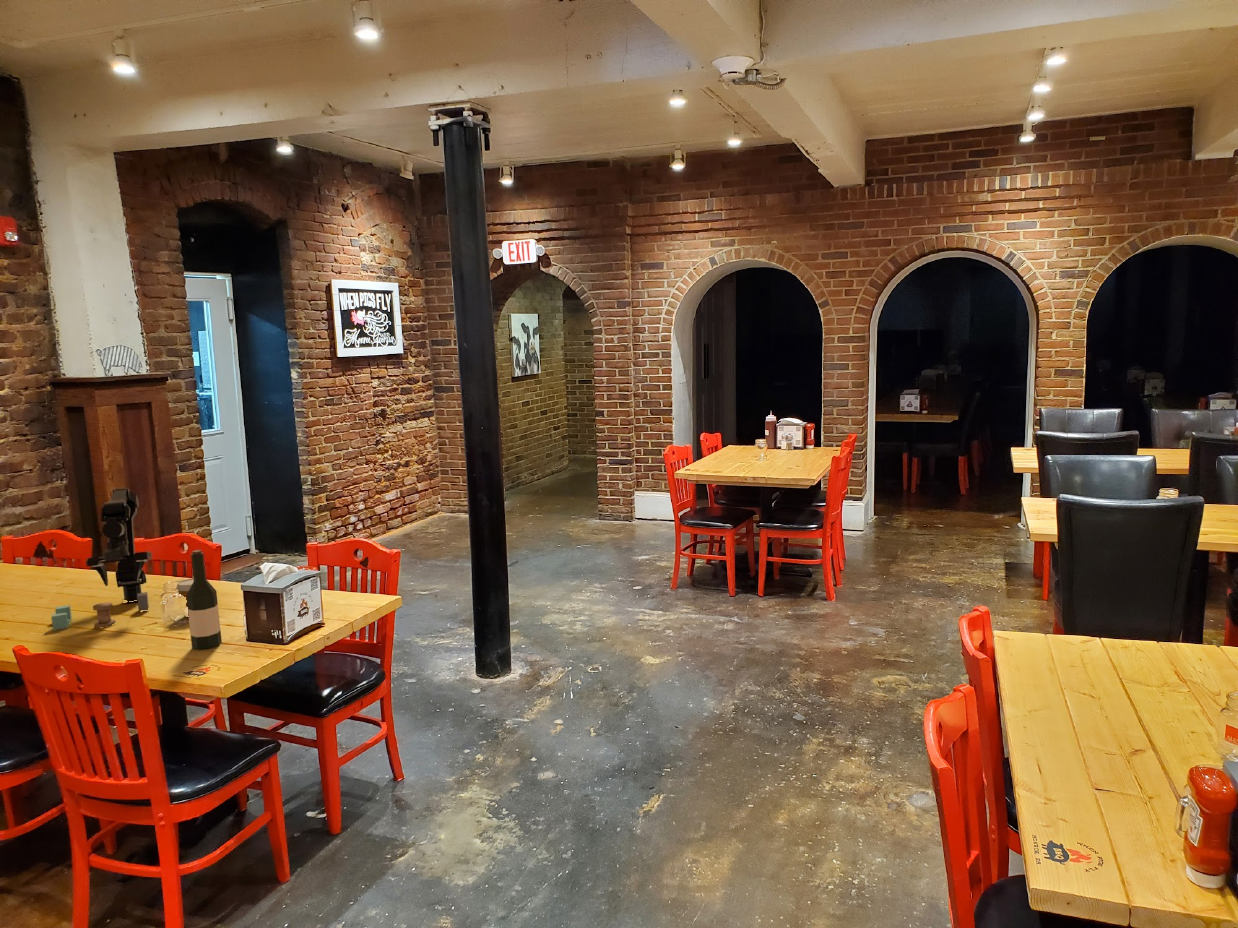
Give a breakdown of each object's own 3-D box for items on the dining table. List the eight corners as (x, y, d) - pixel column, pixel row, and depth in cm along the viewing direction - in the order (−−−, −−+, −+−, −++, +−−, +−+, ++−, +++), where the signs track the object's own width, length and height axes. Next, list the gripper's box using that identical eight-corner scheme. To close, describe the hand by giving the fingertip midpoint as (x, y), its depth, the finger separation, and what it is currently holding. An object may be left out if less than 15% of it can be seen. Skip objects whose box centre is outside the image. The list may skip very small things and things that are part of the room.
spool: (95, 624, 281) (93, 604, 280) (116, 620, 284) (113, 601, 283) (93, 629, 276) (91, 608, 275) (114, 625, 278) (112, 605, 277)
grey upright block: (139, 609, 295) (137, 593, 295) (149, 608, 297) (147, 592, 296) (138, 612, 292) (136, 596, 291) (148, 611, 293) (146, 594, 292)
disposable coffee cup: (215, 613, 289) (212, 579, 287) (188, 621, 281) (185, 586, 279) (200, 609, 294) (197, 576, 292) (174, 616, 286) (170, 583, 284)
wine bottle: (209, 650, 252) (199, 554, 248) (185, 649, 254) (175, 554, 250) (227, 641, 260) (218, 547, 256) (204, 639, 262) (194, 547, 258)
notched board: (58, 620, 286) (56, 606, 285) (71, 618, 288) (70, 604, 287) (53, 630, 276) (51, 616, 275) (67, 628, 277) (65, 614, 277)
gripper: (78, 542, 275) (82, 589, 275) (140, 535, 280) (144, 581, 279) (90, 541, 286) (94, 587, 285) (150, 535, 291) (154, 579, 290)
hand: (121, 583), depth 285 cm, fingers open, 9 cm apart
